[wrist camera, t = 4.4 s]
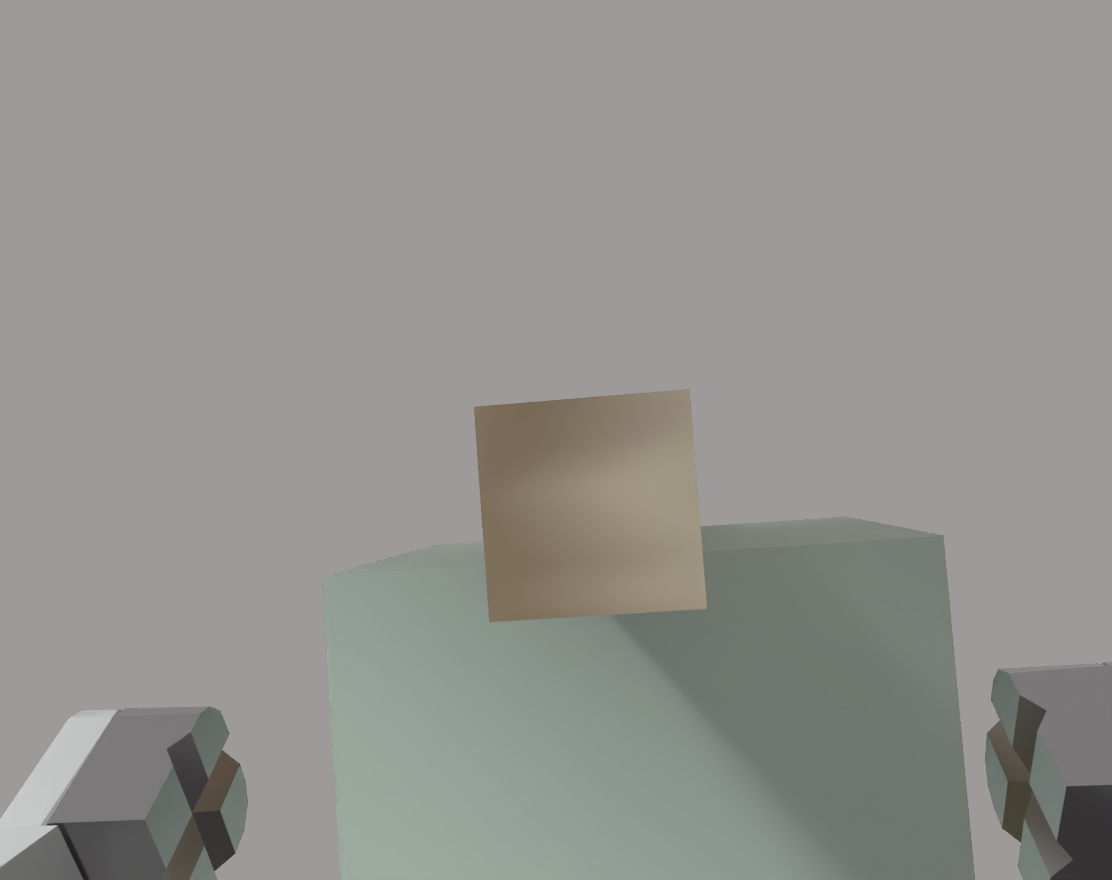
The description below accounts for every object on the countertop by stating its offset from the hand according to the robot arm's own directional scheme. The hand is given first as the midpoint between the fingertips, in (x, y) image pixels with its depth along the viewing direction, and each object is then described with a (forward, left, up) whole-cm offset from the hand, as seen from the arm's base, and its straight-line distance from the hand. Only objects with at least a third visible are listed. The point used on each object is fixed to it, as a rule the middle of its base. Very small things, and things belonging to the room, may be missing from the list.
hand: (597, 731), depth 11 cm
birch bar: (0, +10, +1) cm, 10 cm away
